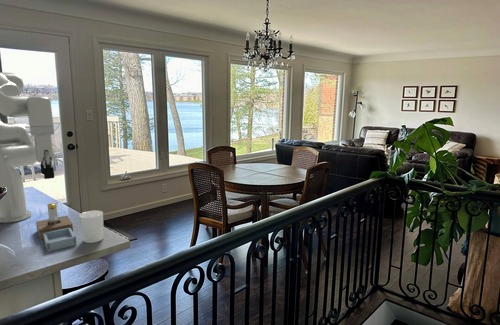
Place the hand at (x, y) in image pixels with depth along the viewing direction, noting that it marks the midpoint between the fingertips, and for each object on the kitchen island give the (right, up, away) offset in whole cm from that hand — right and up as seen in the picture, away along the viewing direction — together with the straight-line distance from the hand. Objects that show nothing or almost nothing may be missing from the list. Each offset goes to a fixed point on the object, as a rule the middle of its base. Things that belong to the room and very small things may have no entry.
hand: (47, 175), depth 127 cm
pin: (0, -22, +5) cm, 23 cm away
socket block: (0, -22, +5) cm, 23 cm away
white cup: (+18, -24, -2) cm, 30 cm away
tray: (+7, -24, -5) cm, 26 cm away
